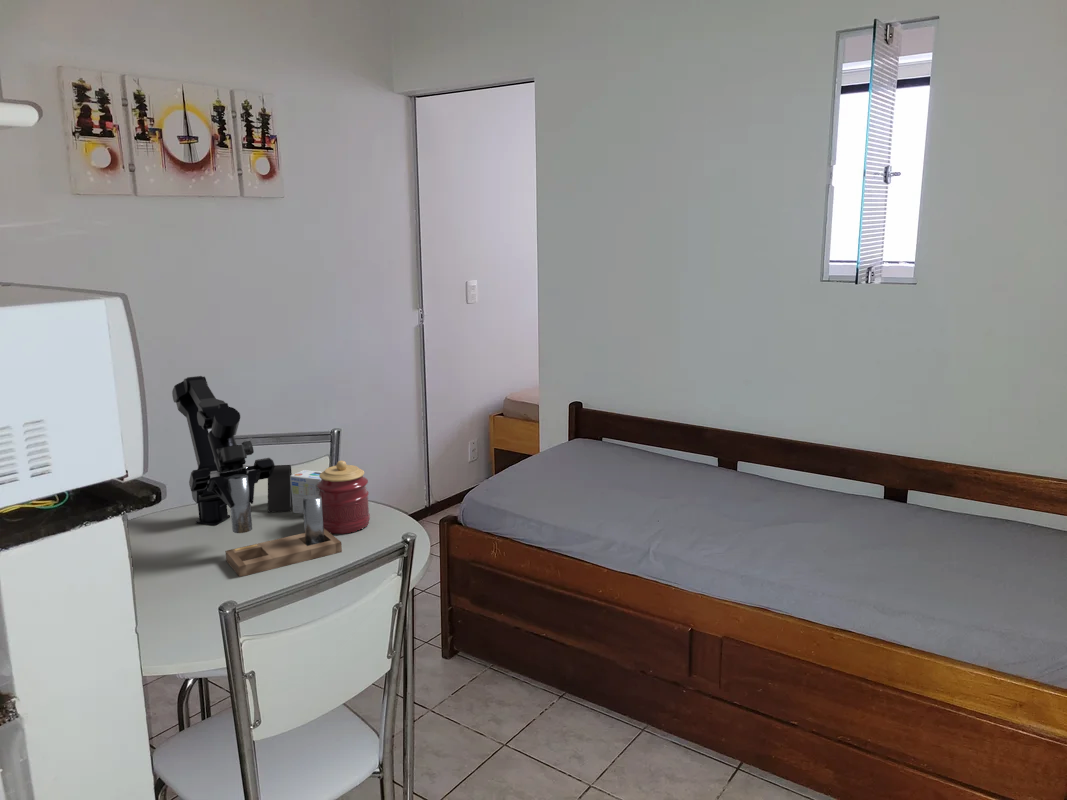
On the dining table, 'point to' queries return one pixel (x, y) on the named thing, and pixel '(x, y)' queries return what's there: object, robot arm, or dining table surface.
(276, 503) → the phone stand
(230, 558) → the wooden slotted holder
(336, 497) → the canister
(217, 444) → the robot arm
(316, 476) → the light bulb box
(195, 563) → the dining table surface
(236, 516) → the cylinder
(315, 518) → the cylinder
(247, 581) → the dining table surface
